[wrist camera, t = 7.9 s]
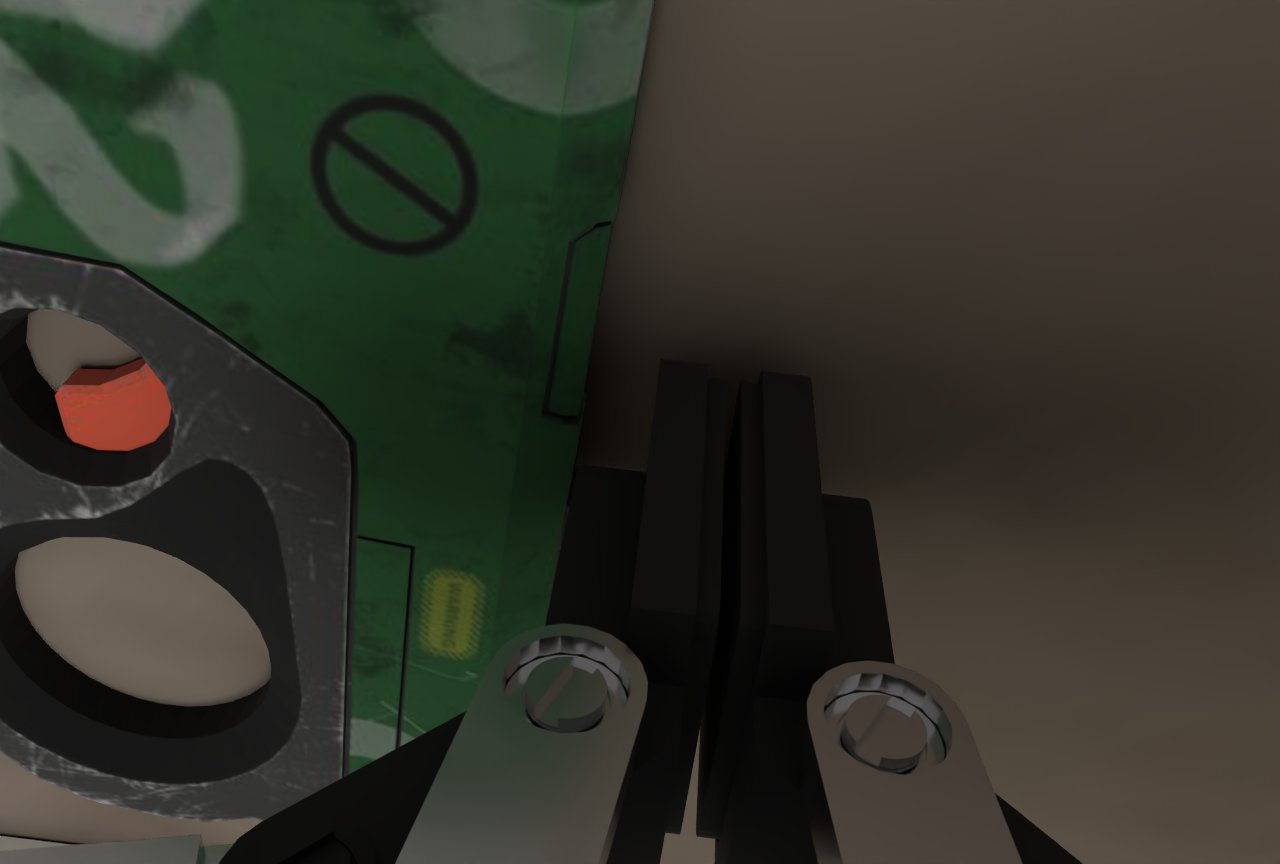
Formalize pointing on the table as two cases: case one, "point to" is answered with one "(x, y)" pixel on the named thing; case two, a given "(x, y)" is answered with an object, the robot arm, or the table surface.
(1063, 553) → the table surface
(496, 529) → the gun
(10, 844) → the white angled bar
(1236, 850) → the table surface
